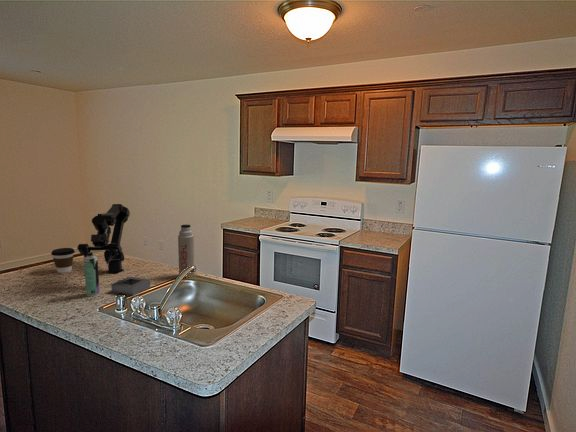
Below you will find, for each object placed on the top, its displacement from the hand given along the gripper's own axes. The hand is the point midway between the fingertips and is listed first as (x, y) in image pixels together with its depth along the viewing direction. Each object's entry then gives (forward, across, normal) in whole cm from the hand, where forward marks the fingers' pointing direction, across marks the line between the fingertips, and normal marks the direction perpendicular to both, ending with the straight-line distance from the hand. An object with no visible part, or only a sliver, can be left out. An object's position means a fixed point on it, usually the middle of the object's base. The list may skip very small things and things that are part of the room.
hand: (96, 264), depth 172 cm
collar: (+10, +16, +7) cm, 20 cm away
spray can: (+14, 0, +4) cm, 14 cm away
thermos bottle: (-2, +39, +20) cm, 44 cm away
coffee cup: (-12, -27, +30) cm, 42 cm away
